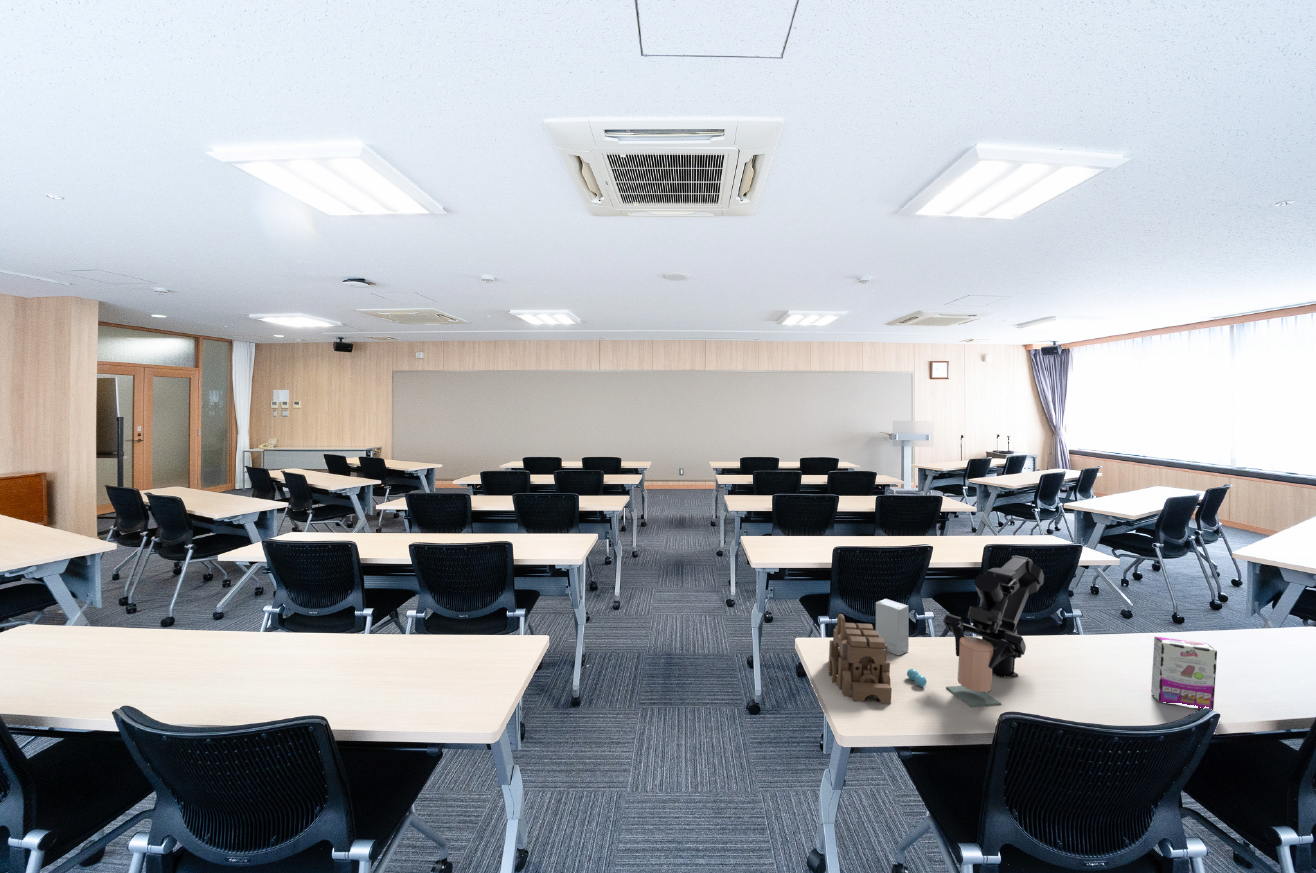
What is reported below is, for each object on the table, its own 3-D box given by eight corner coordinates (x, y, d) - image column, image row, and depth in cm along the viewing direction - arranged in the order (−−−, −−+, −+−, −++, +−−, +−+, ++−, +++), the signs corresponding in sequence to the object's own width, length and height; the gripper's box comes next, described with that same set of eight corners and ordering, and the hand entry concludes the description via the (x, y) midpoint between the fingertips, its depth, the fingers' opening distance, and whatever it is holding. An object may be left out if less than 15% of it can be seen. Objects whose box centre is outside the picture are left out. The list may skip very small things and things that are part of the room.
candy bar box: (1202, 702, 139) (1207, 642, 138) (1213, 712, 135) (1219, 650, 134) (1148, 693, 144) (1153, 635, 143) (1158, 702, 139) (1163, 642, 138)
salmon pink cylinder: (966, 673, 145) (968, 634, 144) (996, 686, 139) (998, 644, 138) (952, 681, 141) (954, 640, 140) (982, 694, 135) (984, 652, 134)
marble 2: (921, 682, 146) (922, 672, 146) (928, 688, 143) (929, 677, 143) (911, 683, 146) (912, 672, 146) (918, 689, 143) (919, 678, 143)
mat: (975, 686, 145) (975, 684, 145) (1001, 704, 136) (1001, 703, 136) (946, 688, 144) (946, 686, 144) (970, 706, 135) (970, 705, 135)
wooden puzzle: (899, 704, 135) (903, 634, 134) (841, 701, 136) (844, 631, 135) (870, 663, 157) (873, 602, 156) (821, 660, 158) (823, 600, 157)
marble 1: (914, 676, 150) (914, 666, 149) (920, 682, 147) (921, 671, 146) (904, 677, 149) (905, 666, 149) (911, 682, 146) (911, 672, 146)
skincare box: (908, 652, 165) (911, 605, 164) (897, 656, 162) (899, 609, 161) (884, 641, 172) (886, 597, 171) (873, 645, 168) (875, 600, 168)
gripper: (947, 585, 148) (928, 633, 142) (1025, 605, 134) (1007, 660, 127) (957, 606, 154) (939, 653, 147) (1032, 627, 139) (1016, 681, 133)
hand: (973, 661), depth 139 cm, fingers closed on salmon pink cylinder, 8 cm apart
